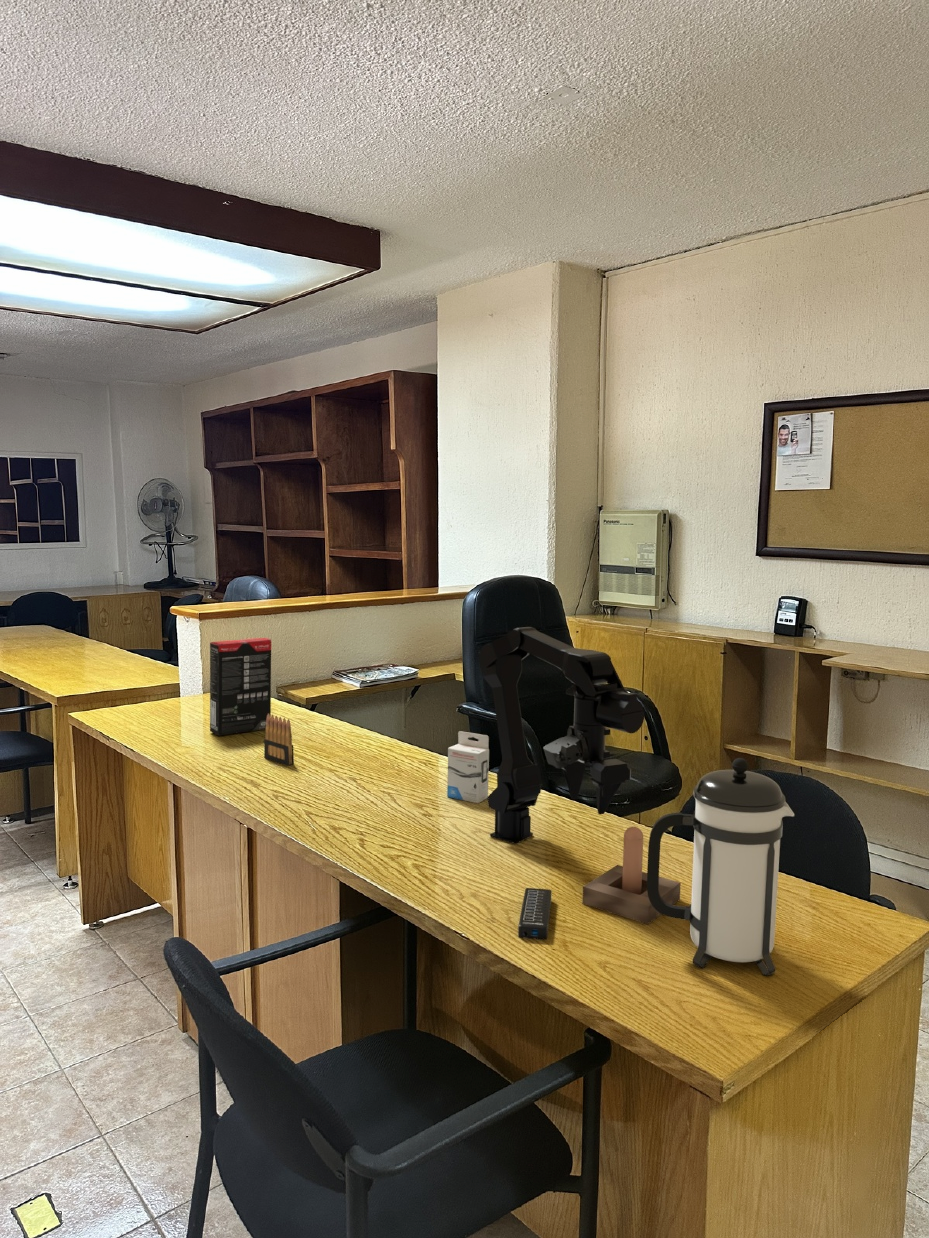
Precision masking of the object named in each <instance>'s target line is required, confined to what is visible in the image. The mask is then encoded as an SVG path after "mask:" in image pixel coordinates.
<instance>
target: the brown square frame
mask: <svg viewBox="0 0 929 1238" xmlns="http://www.w3.org/2000/svg"><path fill="white" fill-rule="evenodd" d="M622 879H623V865H619V864H616V865H614V867H612V868H610V869H609V870H607V871H606V872H604V873H602V874H601V875H599V876H597V877H595V878H594V879H593V880H591V881H589V882H588V883H586V884H584V885H583V886H582V905H584V906H585V905H586V906H589V907H591V908H595V909H599V910H602V911H604V912H608V913H610V914H614V915H617V916H620V917H623V918H627V919H629V920H633V921H635V920H636V922H639V923H642V924H646V925H649V924H650V923H652V922H653V921H654V920H656V919H657V918H658V917H660V916H661V915H662V914H661V913H659V912H658V911H657V910H656V909H655V908H654V907H653V906H652V904H651V902H650V900H649V897H648V892H647V872H644V871H642V889H641V895H638V894H634V893H631V892H628V891H624V890H622ZM681 885H682V882H680V881H677V880H673V879H669V878H665V877H661V876H659V894H660V896H661V898H662V899H663V900H664V901H665V902H666V903H668V904H670V905H675V904H676V903H677V902H679V901H680V900H681ZM678 900H679V901H678ZM674 903H675V904H674Z"/></svg>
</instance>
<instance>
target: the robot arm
mask: <svg viewBox="0 0 929 1238" xmlns="http://www.w3.org/2000/svg"><path fill="white" fill-rule="evenodd" d="M529 655H531V656H533V657H536V658H538V659H539V660H542V661H544V662H546V663H548V664H550V665H552V666H554V667H556V668H558V669H559V670H560V671H562V673H563V676H564V677H565V678H566V679H567V680H569V681H570V682H571V683H573V684H572V685H571V686H570V687H568V689H566V690H565V694H566V695H569V696H574V701H573V702H574V703H573V704H574V705H573V706H574V707H573V708H574V709H573V711H574V712H573V725H569V726H568V729H567V734H566V735H565V736H564V737H559V738H558V739H555V740H553V741H551V742H549V743H548V744H545V746H543V748H542V749H543V751H544V754H545V755H544V756H545V758H546V761H547V764H548V765H551V766H553V767H555V768H556V769H562V772H563V775H564V777H565V781H566V784H567V787H568V792H569V796H570V798H571V800H577V799H578V797H579V794H580V791H581V787H582V786H581V785H582V783H583V780H584V775H585V771H586V767H587V766H588V767H589V768H590V770H589V771H590V772H589V773H590V776H591V778H589V780H590V781H591V783H592V784H593V785H594V786H595V792H596V793H595V795H596V808H597V814H598V815H605V813H606V811H607V809H608V807H609V805H610V804H611V802H612V800H613V798H614V796H615V794H616V793H617V792H618V790H619V789H620V787H621V786H622V784H625V783H626V782H627V781H629V780H631V777H632V767H631V766H630V765H629V764H628V763H626V762H624V761H623V760H620V759H619V758H610V752H611V751H609V750H607V749H606V736H610V735H611V729H612V730H616V731H620V732H622V733H623V732H624V733H627V734H634V733H637V732H638V731H639V730H640V729H641V728H642V726H643V724H644V721H645V714H646V712H645V711H644V707H643V705H642V703H641V702H640V701H638V694H637V693H636V692H625V690H626V689H625V687H624V684H623V683H622V680H621V679H620V677H619V674H618V672H617V671H616V668H615V666H614V664H613V661H612V657H611V656H610V655H609V654H608V653H606V652H604V651H600V650H599V651H598V650H593V649H587V648H586V649H585V648H577V647H574V646H571V645H570V644H567V643H566V642H562V641H560V640H558V639H556V638H553V637H551V636H549V635H548V634H545V633H543V632H540V631H538V630H537V629H536V628H535V627H532V626H525V627H523V626H522V627H516V628H513V629H511V630H510V631H509V632H508V633H507V634H505V635H503V636H502V637H499V638H497V639H495V640H494V641H491V642H489V643H485V645H483V646H482V647H481V649H480V651H478V662H479V663H478V664H479V667H480V672H481V675H482V677H483V678H484V680H485V681H486V682H487V684H488V686H489V687H490V688H491V690H492V697H493V703H494V710H495V712H494V713H495V718H496V724H497V725H496V726H497V731H498V732H497V733H498V739H499V745H500V746H499V747H500V751H501V752H500V753H501V763H500V765H499V768H498V771H497V774H496V787H495V789H494V790H493V791H491V793H490V794H488V797H487V798H486V799H487V803H488V804H487V805H488V808H489V809H492V810H494V831H493V832H491V833H489V837H490V838H493V839H497V840H501V841H504V842H506V843H509V844H510V843H512V844H517V845H518V843H521V842H522V841H525V840H527V839H529V838H530V837H533V836H534V833H533V832H531V823H532V822H531V821H532V819H531V818H532V817H531V815H530V807H534V806H536V804H537V801H538V798H539V795H540V794H541V791H542V785H543V781H542V778H541V769H540V765H539V764H538V763H535V764H534V763H533V762H532V760H531V759H529V757H528V753H527V752H528V751H527V747H526V741H525V740H526V739H525V732H524V728H523V727H524V725H523V719H522V712H521V705H520V698H519V694H518V693H519V692H518V682H519V680H520V678H521V674H522V672H523V662H522V661H523V660H524V659H526V658H527V657H528V656H529ZM604 758H610V759H604Z"/></svg>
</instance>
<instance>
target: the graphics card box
mask: <svg viewBox="0 0 929 1238" xmlns="http://www.w3.org/2000/svg"><path fill="white" fill-rule="evenodd" d="M209 661H210V662H209V677H210V678H209V685H210V686H209V687H210V688H209V732H211V733H213V734H215V736H216V735H217V736H227V735H235V734H241V733H247V732H248V733H249V732H255V731H257V732H258V731H263V730H266V720H267V715H268V713H269V715H270V718H271V716H272V713H271V711H272V709H271V707H272V705H271V704H272V683H271V682H272V639H270V638H267V637H266V638H265V637H260V638H247V639H233V640H222V641H210V642H209Z"/></svg>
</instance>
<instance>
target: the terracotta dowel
mask: <svg viewBox="0 0 929 1238" xmlns="http://www.w3.org/2000/svg"><path fill="white" fill-rule="evenodd" d="M622 850H623V855H622V856H623V857H622V866H623V879H622V890H624V891H628V892H631V893H634V894H638V895H641V889H642V872H643V857H644V855H643V854H644V833H643V830H641V829H640V828H639V827H637V826H630V827H628V828H626V829H625V831H624V833H623V849H622Z"/></svg>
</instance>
